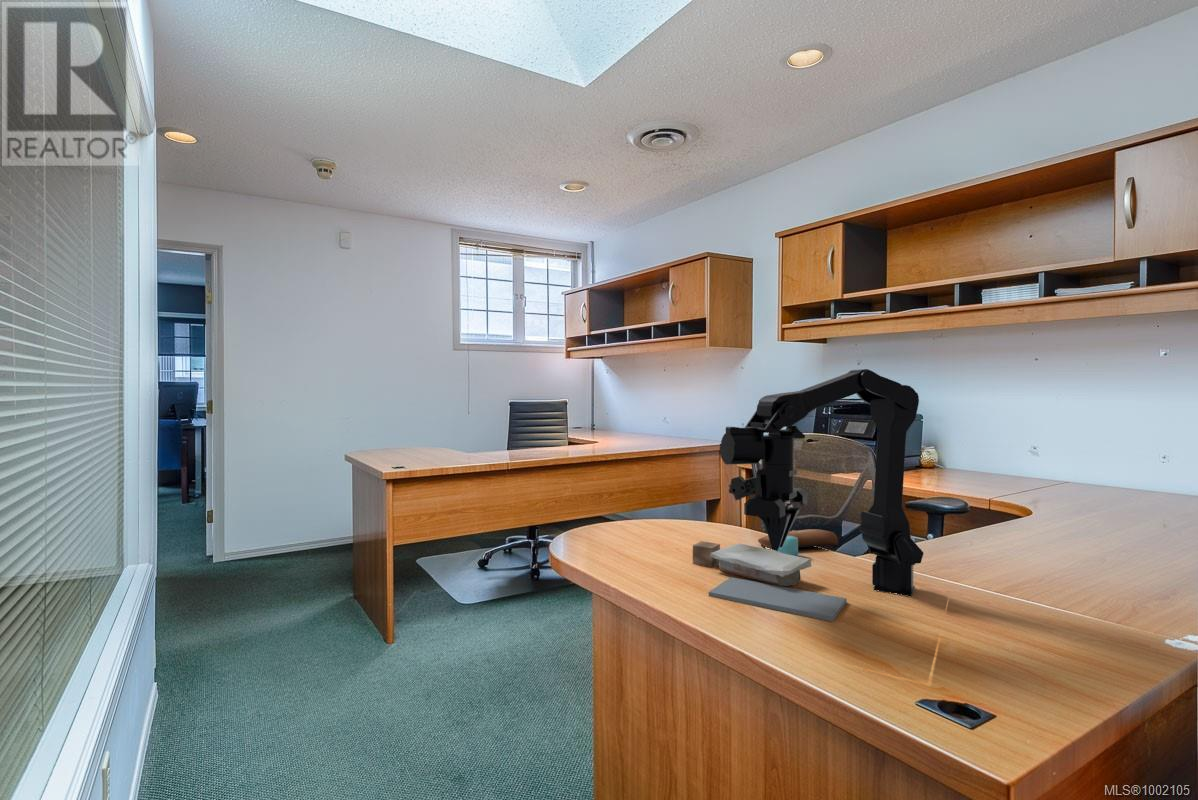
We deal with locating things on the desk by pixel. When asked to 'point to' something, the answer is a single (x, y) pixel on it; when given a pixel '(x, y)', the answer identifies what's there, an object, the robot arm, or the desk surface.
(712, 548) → the walnut block
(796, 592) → the mat
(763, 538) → the sweet potato
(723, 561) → the light grey block
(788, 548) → the teal cylinder
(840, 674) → the desk surface
